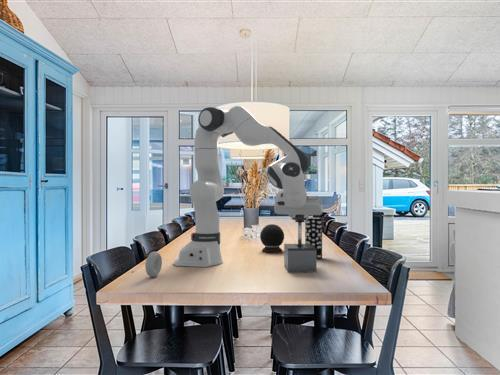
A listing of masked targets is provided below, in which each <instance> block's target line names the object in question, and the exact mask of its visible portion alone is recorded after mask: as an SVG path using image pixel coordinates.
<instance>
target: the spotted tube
mask: <svg viewBox="0 0 500 375" xmlns="http://www.w3.org/2000/svg"><path fill="white" fill-rule="evenodd" d="M304 225H305V227H304V228H305V229H304V231H305V232H304V234H305V235H304V237H305V238H304V239H305V240H304V244H312V245H313V246H314V247H316V248H317V261H318V260H319V261H320V260H322V259H323V218H322V217H317V216H316V217H313V216H312V217H311V216H309V217H308V220H305V222H304Z"/></svg>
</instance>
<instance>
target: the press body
mask: <svg viewBox="0 0 500 375" xmlns="http://www.w3.org/2000/svg"><path fill="white" fill-rule="evenodd" d="M283 248H284V250H283V256H284V258H283V260H284V261H283V264H284V265H283V266H284V268H285V270H286V272H287V273H317V266H318V265H317V261H318V260H317V248H316V247H314V246H313V245H312V244H305V243H302V247H298V243H284V244H283Z"/></svg>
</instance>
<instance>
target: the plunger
mask: <svg viewBox="0 0 500 375" xmlns="http://www.w3.org/2000/svg"><path fill="white" fill-rule="evenodd" d="M294 221H295V223H297V244H298V247H302V244H303V240H302V239H303V236H302V235H303V232H302V231H303V230H302V228H303V226H302V225H303V223H305V220H304V215H295V220H294Z"/></svg>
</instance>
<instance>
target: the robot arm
mask: <svg viewBox="0 0 500 375" xmlns="http://www.w3.org/2000/svg"><path fill="white" fill-rule="evenodd" d="M198 125H199V126H200V127H198V128H196V131H195V135H194V144H193V145H194V167H195V169H196V173H197V176H198V179H197V180H196V181H194V182H193V183H192V184H191V185H190V186H189V189H188V192H189V193H188V194H189V196H190V197H189V198H191V200H192V204H193V208H194V209H193V210H194V215H195V217H194V218H195V232H191V234H190V241H189V242H188V243H187V244H186V245H184V246H182V248H181V249H180V250H179V254H178V258H176V259H174V261H173V265H174V266H176V267H200V268H201V267H203V268H208V267H212V266H218V265H221V264H223V263H224V261H223V258H222V252H221V232H220V215H219V214H220V213H219V211H218V207H217V201H219V200H221V198H222V197H223V196H224V194H225V188H224V185H223V182H222V176H221V172H220V166H219V164H220V163H219V162H220V161H219V160H220V159H219V138H220V137H222V138H225V137H227V136H229V135H232V134H234V135H235V136H236V137H237V139H238V141H240V142H241V143H242V144H244V145H245V146H250V147H254V146H255V147H256V146H261V145H268V144H269V145H274V146H276V147H277V148H278V149H279V150H280V151H282V152H283V153H284V154H285V156H284V157H282V158H280V159H278V160H276V161H274V162H273V163H271V164H270V165H269V166H268V167H267V169H266V170H267V171H266V175H267V179H268V181H269V183H270V184H271V185H272V186H274V188H277V189H279V190H278V191H277V192H276V193H275V196H274V206H273V209H274V210H273V211H274V214H276V215H288V216H289V218H291V220H292V221H295V215H304V220H308V217H311V216H321V215H323V211H324V210H323V209H324V208H323V199H322V198H321V197H318V196H308V194H307V188H306V180H305V175H304V174H305V173H307V172H308V171H309V169H310V164H311V160H310V158H309V156H308V155H307V154H306V153H305V152H304V151H303V150H302V149H300V148H298V147H297V146H295V145H294V144H293V143H292V142H291V141H289V139H287V138H286V137H285V136H284V135H282V134H281V133H280V132H279V131H278V130H276V128H274V127H273V126H267V125H264V124H262V123H261V122H259V121H258V120H257V119H256V118H255V117H254V115H253V114H252V113H250V111H248V110H247V109H246V108H245V107H244V106H241V105H235V106H232V107H231V108H230V109H229V110H227V109H224V108H217V107H211V106H209V107H205V108H203V109H202V110H201V111H200V112H199V114H198Z"/></svg>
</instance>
